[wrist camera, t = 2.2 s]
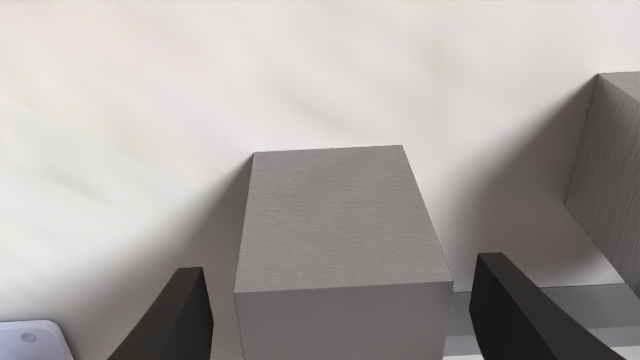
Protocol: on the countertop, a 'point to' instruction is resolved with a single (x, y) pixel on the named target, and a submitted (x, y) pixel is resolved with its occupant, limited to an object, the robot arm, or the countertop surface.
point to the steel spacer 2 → (611, 173)
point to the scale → (578, 302)
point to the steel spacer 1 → (340, 259)
